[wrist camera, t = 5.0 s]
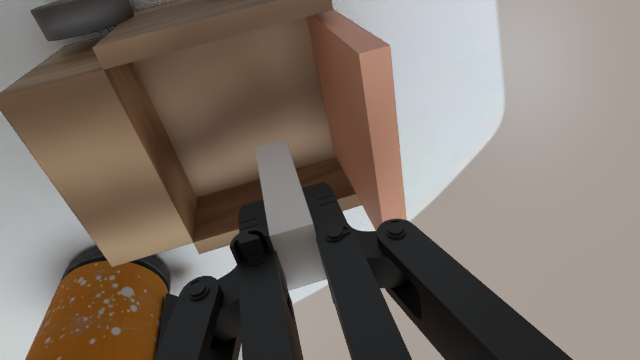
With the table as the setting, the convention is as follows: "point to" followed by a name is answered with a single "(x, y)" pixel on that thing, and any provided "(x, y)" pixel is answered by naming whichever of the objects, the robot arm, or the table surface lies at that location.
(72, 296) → the canister
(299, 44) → the truck
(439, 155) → the table surface
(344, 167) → the panel
